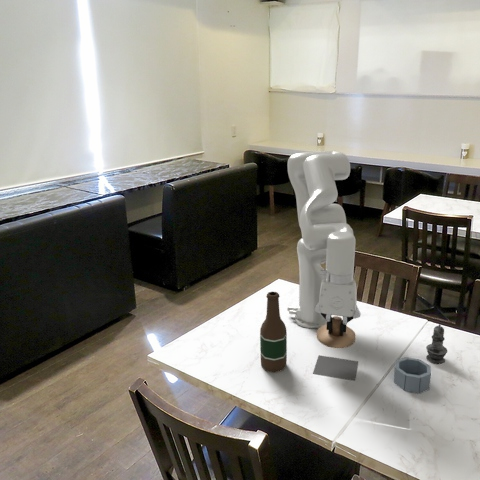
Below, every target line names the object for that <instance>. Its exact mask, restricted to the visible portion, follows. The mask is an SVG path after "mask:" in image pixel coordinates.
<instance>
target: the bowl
mask: <svg viewBox="0 0 480 480" xmlns="http://www.w3.org/2000/svg"><path fill="white" fill-rule="evenodd" d="M394 364H395V365H394V374H393V375H394V376H393V383H394V384H395V385H396V386H398V387H399V388H400V389H401V390H403V391H406V392H409V393H414V394H418V395H419V394H422V393H424V392H427V391H429V390H430V387H431V378H432V369H431V365H430V364H429V363H427V362H425V361H424V360H422V359H420V358H414V357H409V356H408V357H407V356H406V357H402V358H399V359H397V360H395V362H394Z"/></svg>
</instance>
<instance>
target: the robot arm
mask: <svg viewBox="0 0 480 480" xmlns="http://www.w3.org/2000/svg"><path fill="white" fill-rule="evenodd" d="M286 166H287V174H288V179H289V181H290V183H291V186H292V188H293V190H294V195H295V199H296V209H297V210H296V211H297V219H298V225H299V228H300V231H301V238H300V239H298V241H297V245H296V252H297V253H296V254H297V258H298V267H299V270H298V272H299V286H298V287H299V292H298V295H299V297H298V299H299V300H298V302H299V303H298V305H299V306H298V305H296V306H291V305H288V306H287V311H288V312H289V315H295V316H294V322H295V323H296V324H297V325H298V326H300V327H303V328H305V329H310V330H311V329H313V330H314V329H317V330H318V329H319V328H320V327H321V326H323V325H326V324H327V330H329V331H328V334H331V330H332V317H333V316H338V317H342V323H341V331H340V336H343V333H344V332H345V333H346V326H347V325H348V323H350V322H351V321H353V320H354V319H359V318H360V317H361V315H362V313H361V311H360V309H359V307H358V305H357V297H358V296H357V295H358V294H357V283H356V280H355V279H354V274H355V273H354V272H355V270H354V269H355V268H354V267H355V258H356V257H355V255H356V244H357V243H356V241H357V240H356V237H355V235H354V230H353V228H352V227H351V225H350V224H348V223H347V216H346V213H345V210H344V208H343V206H342V205H340V204H338V203H334V202H335V201H336V200H337V199H338V196H339V195H338V194H339V193H338V189H337V185H336V181H343V180H346V179H348V177H350V173H351V162H350V160H349V158H348V156H347V155H346V154H345V153H344V152H339V151H336V150H325V151H324V150H323V151H302V152H298V153H297V152H296V153H294V154H291V156H289V157H288V159H287V165H286ZM321 264H322V265H323V264H325V268H324V267H322V265H321ZM347 327H348V326H347Z"/></svg>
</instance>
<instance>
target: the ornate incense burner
mask: <svg viewBox="0 0 480 480" xmlns="http://www.w3.org/2000/svg"><path fill="white" fill-rule="evenodd" d="M444 335H445V328H444V327H443V326H442V325H441V324H440V323H439V324H438V325H436V326H434V328H433V334H432V335H431V340H432V341H431V343H430V344H427V345H426V347H425V348H426V353H427V355H426V360H427V361H428V362H429V363H431V364H434V365H443V364H445V363H446V358H445V356H446V355H447V353H448V349H447V347H445V346H444V341H445V340H446V339H445V336H444Z"/></svg>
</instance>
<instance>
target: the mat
mask: <svg viewBox="0 0 480 480" xmlns="http://www.w3.org/2000/svg"><path fill="white" fill-rule="evenodd" d="M358 366H359V361H358V360H352V359H346V358H339V357H332V356H326V355H320V354H319V355H318V356H317V360H316V363H315V365H314V369H313V372H312V374H313V375H318V376H324V377H329V378H335V379H341V380H348V381H354V382H356V378H357V372H358Z"/></svg>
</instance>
